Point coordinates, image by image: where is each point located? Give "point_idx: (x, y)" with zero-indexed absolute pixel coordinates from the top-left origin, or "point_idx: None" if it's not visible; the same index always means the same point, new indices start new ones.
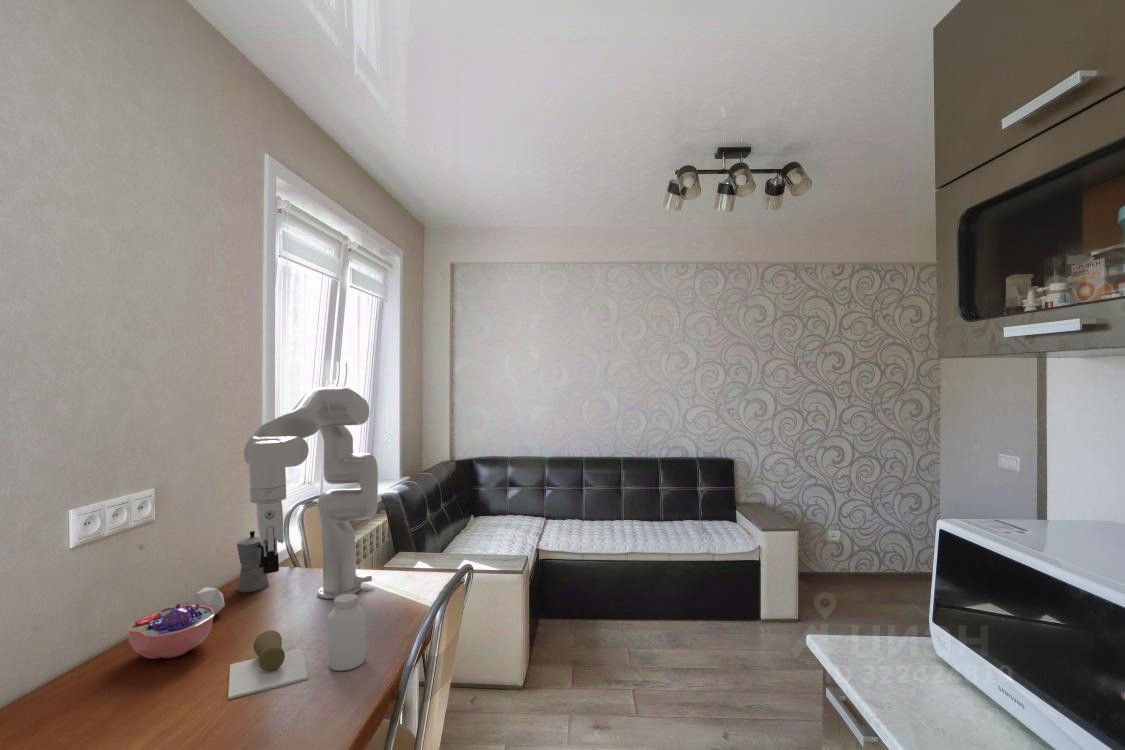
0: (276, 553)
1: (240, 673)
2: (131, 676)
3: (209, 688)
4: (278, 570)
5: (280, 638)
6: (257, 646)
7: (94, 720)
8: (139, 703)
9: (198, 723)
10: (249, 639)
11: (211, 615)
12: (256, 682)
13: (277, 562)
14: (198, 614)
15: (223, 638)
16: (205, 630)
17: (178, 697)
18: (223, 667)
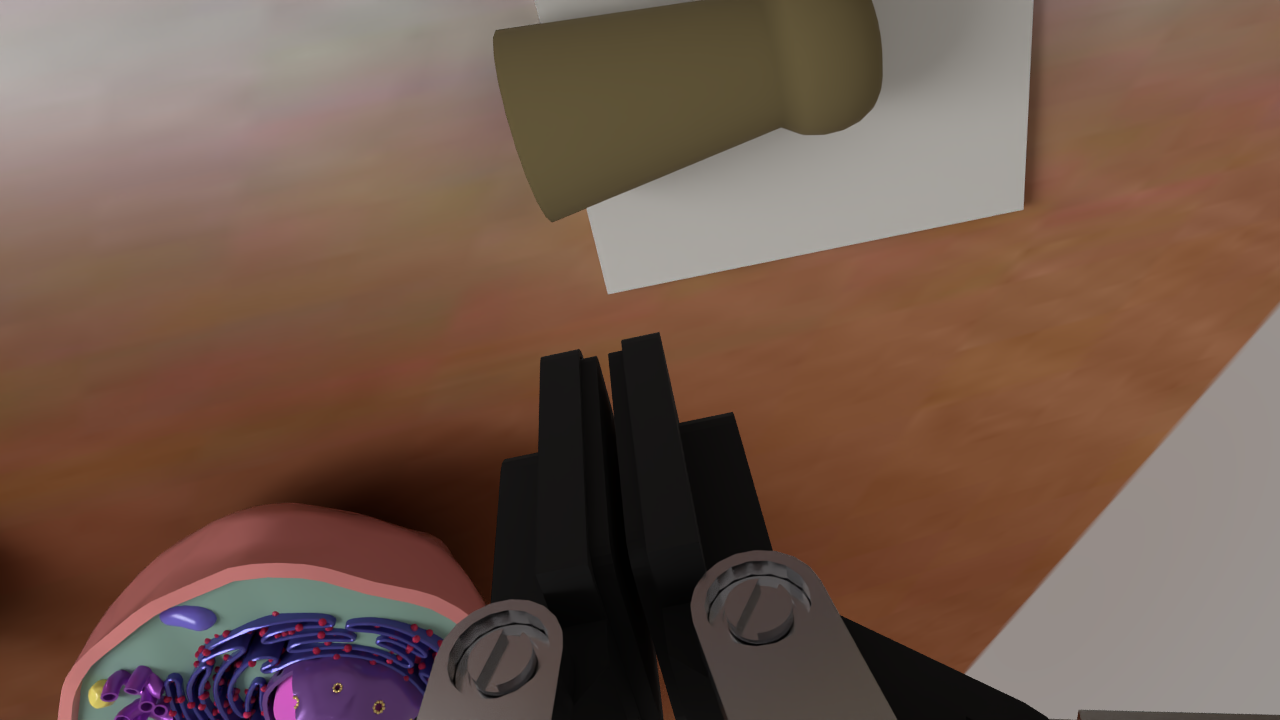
0: (821, 597)
1: (760, 211)
2: None
3: (834, 321)
4: (656, 335)
5: (553, 41)
6: (642, 184)
7: (896, 616)
8: (835, 535)
9: (1177, 275)
10: (224, 272)
11: (282, 576)
12: (931, 94)
13: (676, 436)
14: (263, 642)
15: (188, 415)
16: (347, 534)
17: (859, 421)
18: (604, 318)
